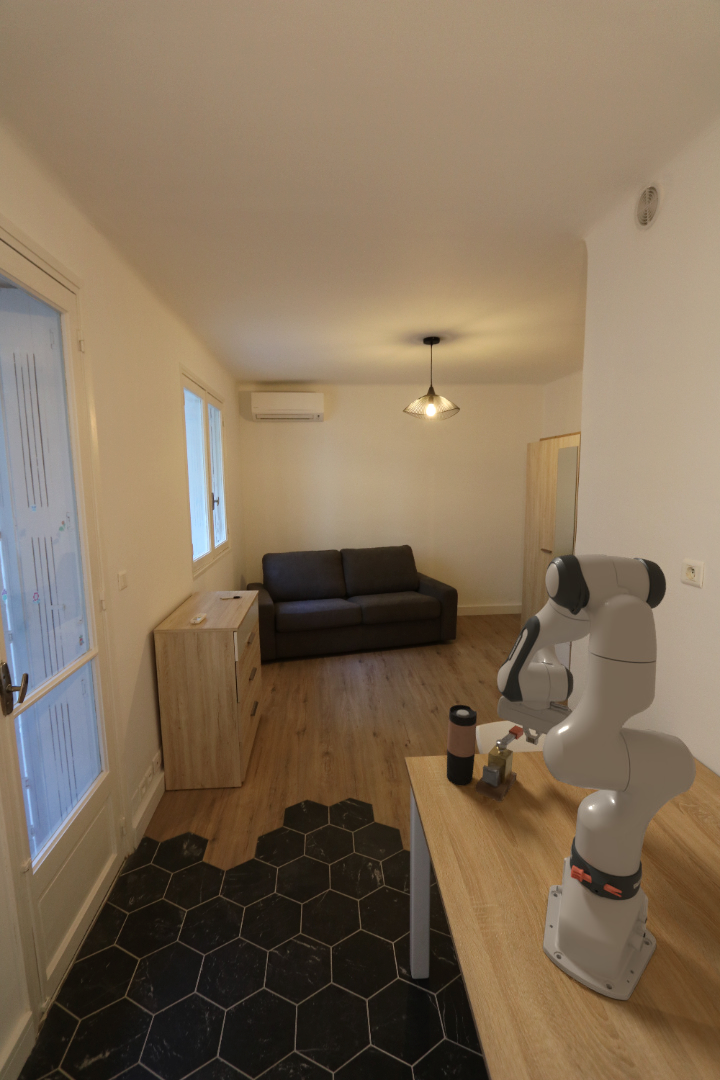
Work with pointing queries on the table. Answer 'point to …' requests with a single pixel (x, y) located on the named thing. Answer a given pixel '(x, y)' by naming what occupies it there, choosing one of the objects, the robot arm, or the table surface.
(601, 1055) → the table surface
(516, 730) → the valve lever
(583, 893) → the robot arm
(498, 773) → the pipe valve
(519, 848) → the table surface
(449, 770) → the travel mug
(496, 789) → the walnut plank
